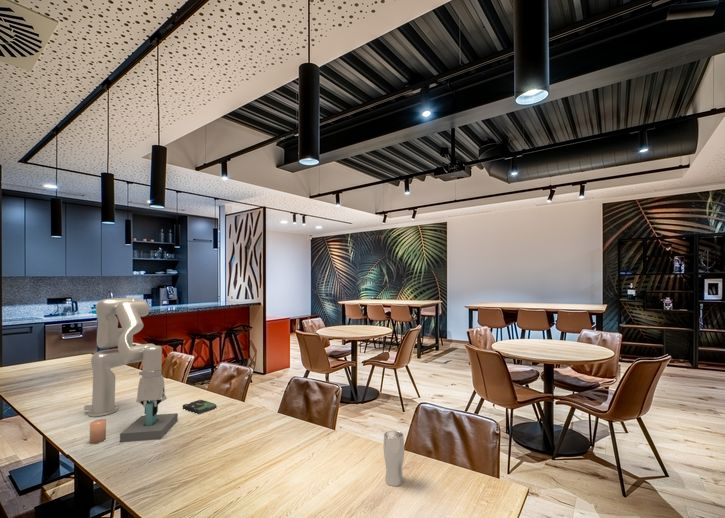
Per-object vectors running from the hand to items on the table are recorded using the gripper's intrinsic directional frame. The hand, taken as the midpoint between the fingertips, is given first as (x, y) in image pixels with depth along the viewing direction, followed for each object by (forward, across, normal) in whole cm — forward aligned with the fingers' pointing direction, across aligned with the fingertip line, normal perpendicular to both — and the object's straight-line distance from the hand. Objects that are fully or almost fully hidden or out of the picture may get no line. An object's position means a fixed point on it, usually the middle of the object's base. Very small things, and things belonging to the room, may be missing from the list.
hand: (151, 414), depth 160 cm
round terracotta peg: (+7, -18, -7) cm, 21 cm away
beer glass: (+7, +98, -59) cm, 115 cm away
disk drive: (+8, +14, +25) cm, 30 cm away
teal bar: (+4, 0, 0) cm, 4 cm away
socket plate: (+7, 0, 0) cm, 7 cm away
